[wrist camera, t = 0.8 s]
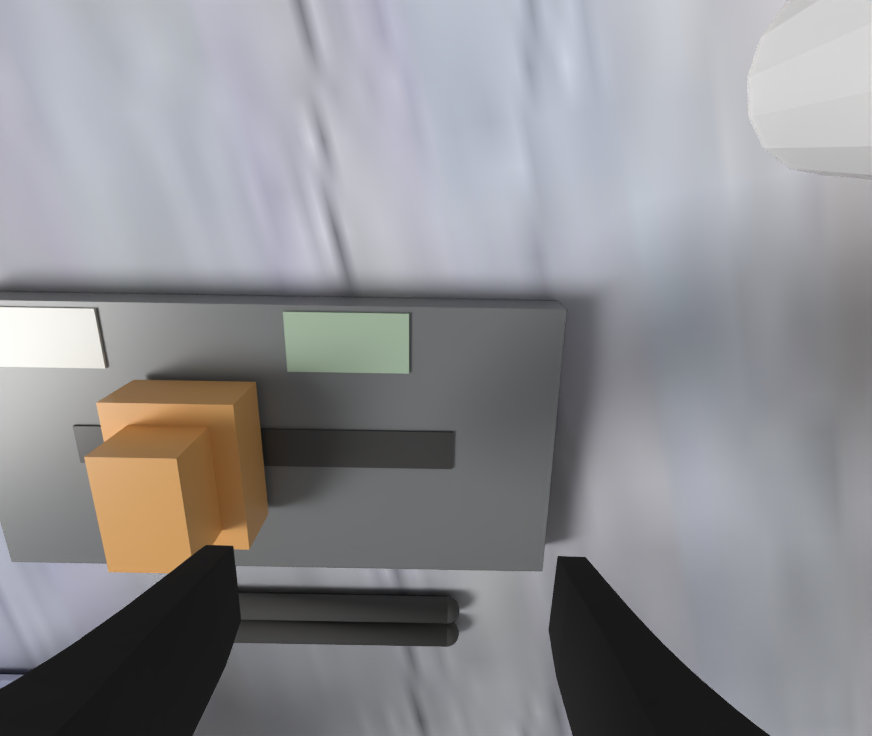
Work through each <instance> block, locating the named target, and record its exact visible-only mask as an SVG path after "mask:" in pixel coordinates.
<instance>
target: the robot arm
mask: <svg viewBox="0 0 872 736" xmlns="http://www.w3.org/2000/svg"><path fill="white" fill-rule="evenodd" d="M240 622H241V613H240V604H239V594H238V585H237V576H236V566H235V557H234V547H233V546H226V545H205V546H204V547H202V548H201V549H200V550H198V551H197V552H196V553H194V554H193V555H192V556H190V557H189V558H188V559H187V560H185V561H184V562H183V563H181V564H180V565H179V566H178V567H176V568H175V569H174V570H173V571H171V572H170V573H169V574H167V575H166V576H165V577H164V578H162V579H161V580H160V581H159V582H157V583H156V584H155V585H153V586H152V587H151V588H149V589H148V590H147V591H145V592H144V593H143V594H142V595H140V596H139V597H138V598H136V599H135V600H134V601H132V602H131V603H130V604H129V605H127V606H126V607H125V608H123V609H122V610H120V611H119V612H118V613H116V614H115V615H113V616H112V617H110V618H109V619H108V620H106V621H105V622H103V623H102V624H101V625H99V626H98V627H96V628H95V629H94V630H92V631H91V632H89V633H88V634H86V635H85V636H84V637H82V638H81V639H79V640H78V641H77V642H75V643H74V644H72V645H71V646H69V647H68V648H66V649H65V650H63V651H61V652H60V653H58V654H57V655H55V656H54V657H52V658H51V659H49V660H47V661H46V662H44V663H42V664H41V665H39V666H38V667H36V668H34V669H33V670H31V671H29V672H28V673H26V674H24V675H14V674H0V736H192V735H193V733H194V731H195V729H196V727H197V725H198V723H199V721H200V719H201V717H202V714H203V712H204V710H205V708H206V706H207V704H208V702H209V700H210V698H211V696H212V694H213V691H214V689H215V687H216V685H217V683H218V681H219V679H220V677H221V675H222V672H223V670H224V668H225V666H226V663H227V660H228V657H229V655H230V652H231V649H232V646H233V643H234V640H235V637H236V634H237V631H238V628H239V625H240ZM549 635H550V641H551V648H552V654H553V660H554V666H555V671H556V677H557V681H558V685H559V688H560V692H561V695H562V699H563V703H564V706H565V710H566V713H567V717H568V720H569V724H570V727H571V731H572V734H573V736H770V735H769V734H767V733H766V732H765V731H763V730H762V729H761V728H759V727H758V726H757V725H755V724H754V723H753V722H751V721H750V720H749V719H748V718H746V717H745V716H744V715H743V714H741V713H740V712H739V711H737V710H736V709H735V708H734V707H733V706H731V705H730V704H729V703H728V702H727V701H725V700H724V699H723V698H722V697H721V696H720V695H718V694H717V693H716V692H715V691H714V690H713V689H711V688H710V687H709V686H708V685H707V684H706V683H704V682H703V681H702V680H701V679H700V678H699V677H698V676H697V675H695V674H694V673H693V672H692V671H691V670H690V669H689V668H688V667H687V666H686V665H685V664H684V663H683V662H681V661H680V660H679V659H678V658H677V657H676V656H675V655H674V654H673V653H672V652H671V651H670V650H669V649H668V648H667V647H666V646H665V645H664V644H663V643H662V642H661V641H660V640H659V639H658V638H657V637H656V636H655V635H654V634H653V633H652V632H651V631H650V630H649V628H648V627H647V626H646V625H645V624H644V623H643V622H642V621H641V620H640V619H639V618H638V617H637V616H636V615H635V613H634V612H633V611H632V610H631V609H630V608H629V607H628V606H627V605H626V603H625V602H624V601H623V600H622V599H621V598H620V597H619V595H618V594H617V593H616V592H615V591H614V590H613V589H612V587H611V586H610V585H609V584H608V583H607V582H606V580H605V579H604V578H603V577H602V576H601V575H600V573H599V572H598V571H597V570H596V569H595V568H594V566H593V565H592V564H591V563H590V562H589V561H588V560H587V559H586V557H566V556H558V558H557V566H556V574H555V582H554V591H553V599H552V607H551V615H550V623H549Z"/></svg>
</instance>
